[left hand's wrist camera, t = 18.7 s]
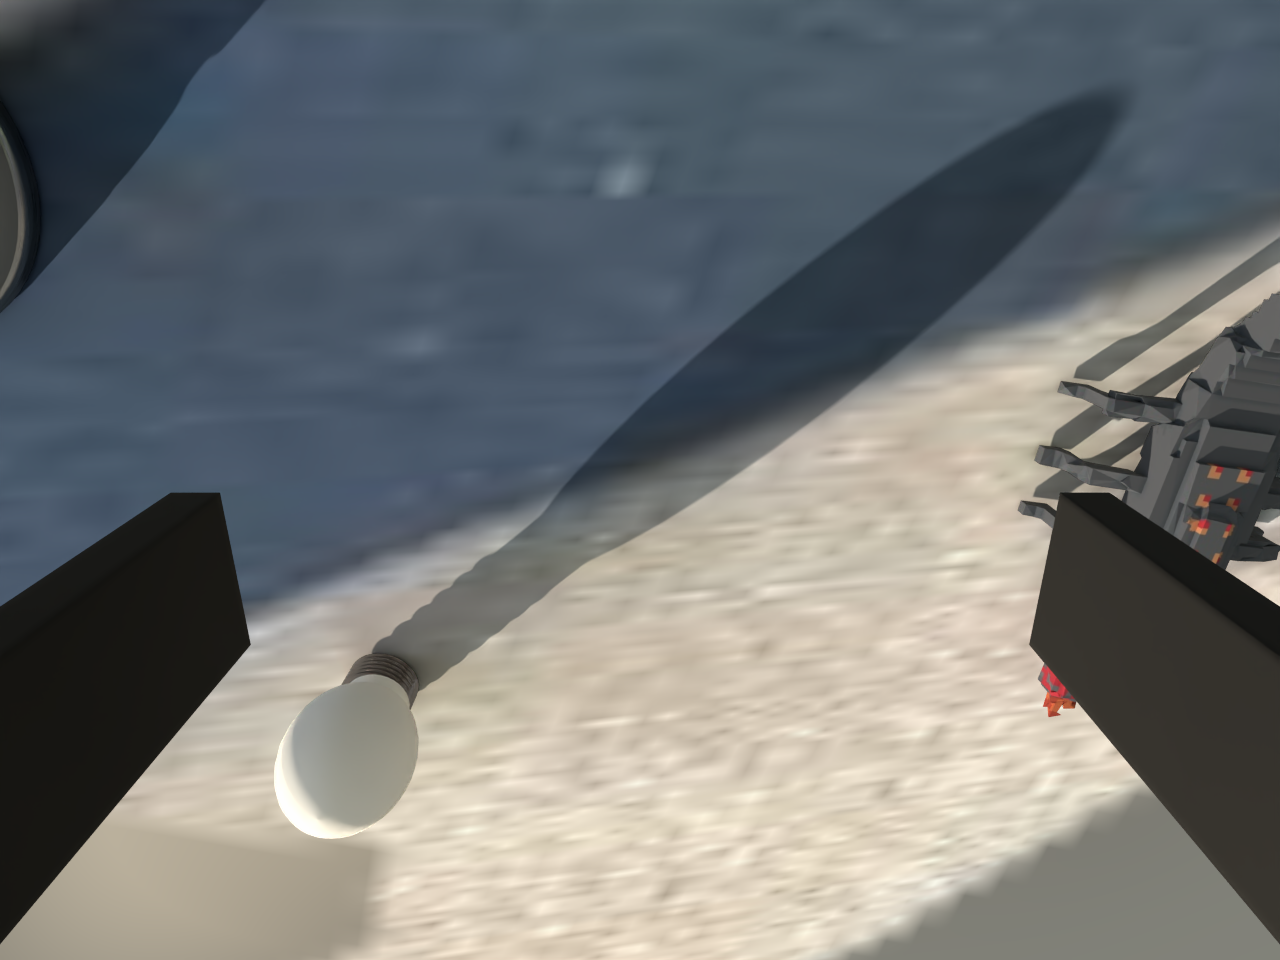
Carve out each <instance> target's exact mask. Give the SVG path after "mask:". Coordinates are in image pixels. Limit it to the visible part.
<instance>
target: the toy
mask: <svg viewBox="0 0 1280 960" xmlns="http://www.w3.org/2000/svg"><path fill="white" fill-rule="evenodd" d="M1058 392H1059V393H1063V394H1066V395H1070V396H1073V397H1077V398H1082V399H1084V400H1086V401H1088V402H1090V403H1093V404H1095V405H1097V406H1099V407H1101V408H1103V411H1102V413H1103V414H1105V415H1107V416H1111V417H1120V418H1128V419H1132V420H1134V421H1140V422H1152V423H1160V424H1158V425H1155V426H1152V427H1151V429H1150V432H1149V434H1148V436H1147V438H1146V441H1145V443H1144V445H1143V448H1142V450H1141V452H1140V454H1141V457H1142V458H1141V460H1140V462H1139V464H1138V465H1137V467H1136V469H1135V471H1134V472H1133V471H1131V470H1128V469H1122V468H1117V467H1111V466H1106V465H1100V464H1095V463H1090V462H1084V461H1082V460H1081V459H1079V458H1078V457H1077V456H1075V455H1074V454H1072V453H1071V452H1069V451H1067V450H1064V449H1062V448H1057V447H1050V446H1043V445H1039V448H1038V451H1037V454H1036V457H1035V460H1034V461H1036V462H1037V463H1039V464H1041V465H1046V466H1051V467H1055V468H1059V469H1062V470H1064V471H1067V472H1069V473H1070V474H1071V475H1073V476H1074V477H1076V478H1077V479H1079V480H1081V481H1083V482H1085V483H1087V484H1089V485H1094V486H1101V487H1108V488H1115V489H1122V490H1126V491H1125V494H1124V496H1123V499H1122V502H1124V503H1125V504H1127V505H1128V506H1130V507H1131V508H1133V509H1134V510H1136V511H1137V512H1139V513H1140V514H1142V515H1143V516H1145V517H1146V518H1148V519H1149V520H1151V521H1152V522H1154V523H1155V524H1157V525H1158V526H1160V527H1161V528H1163V529H1164V530H1166V531H1167V532H1169V533H1170V534H1172V535H1173V536H1175V537H1176V538H1178V539H1179V540H1181V541H1182V542H1184V543H1185V544H1187V545H1188V546H1190V547H1191V548H1193V549H1194V550H1196V551H1197V552H1199V553H1200V554H1202V555H1203V556H1205V557H1206V558H1208V559H1209V560H1211V561H1212V562H1214V563H1215V564H1217V565H1218V566H1220V567H1221V568H1223V569H1224V570H1226V567H1227V565H1228V563H1229V560H1235V561H1260V562H1265V561H1271V560H1277V556H1278V552H1279V551H1280V546H1279V545H1277V544H1275V543H1273V542H1272V541H1270V540H1268V539H1266V538H1265V537H1263V536H1262V535H1263V534H1264V532H1263V530H1261V529H1260V528H1258V527H1255V526H1254V525H1255V523H1256V521H1257V518H1258V516H1259V513H1260V511H1261V509H1263V510H1266V509H1271V508H1273V509H1280V478H1277V477H1275V475H1276V472H1277V464H1278V462H1279V459H1280V295H1279V294H1271V297H1270V299H1269V300H1265V299H1264V301H1263V303H1262V306H1261V308H1260V310H1259V312H1253V315H1252V317H1251V318H1250V317H1246V318H1245V320H1244V321H1243V322H1242V323H1241V324H1239V325H1237V326H1235V327H1234V328H1231V327H1226V328H1225V329H1224V330H1223V332H1222V333H1221V334H1220V336H1219V337H1218V338H1217V339H1216V340H1215V342H1214V344H1213V346H1212V347H1211V349H1210V351H1209V352H1208V354H1207V356H1206V357H1205V359H1204V360H1203V362H1202V363H1201V365H1200V367H1199V368H1198V369H1197V370H1196V371H1195V372H1194V373H1193V372H1191V374H1190V375H1189V377H1188V378H1187V380H1186V381H1185V383H1184V385H1183V386H1182V388H1181V390H1180V391H1179V393H1178V395H1177V397H1176V399H1175V398H1164V397H1153V396H1138V395H1133V394H1128V393H1123V392H1118V391H1112V390H1110V391H1109V393H1106V392H1104V391H1101V390H1098V389H1096V388H1094V387H1092V386H1089V385H1085V384H1078V383H1071V382H1064V381H1061V383H1060V386H1059V389H1058ZM1018 511H1019V512H1020V513H1021V514H1023V515H1028V516H1033V517H1037V518H1040V519H1042V520H1043V521H1044V522H1045V523H1047V524H1048V525H1049V526H1050V527H1052V528H1053V526H1054V521H1055V516H1056V510H1054V509H1053V508H1052V507H1050V506H1049V505H1048V504H1044V503H1036V502H1029V501H1021V502H1020V505H1019V508H1018ZM1038 680H1039V681H1040V682H1041V685H1042V686H1043V687H1044V688H1045V689H1046V690H1047V691H1048V692H1047V695H1046V698H1045V702H1044V705H1043V707H1048V717H1052V716H1058V715H1060V714H1059V713H1057V711H1058V710H1059V708H1060V707H1061V705H1063V709H1066V708H1075V705H1076V700H1075V699H1074V698H1073V696H1072V695H1071V694H1070V693H1069V692H1068V690H1067V689H1066V688H1065V687H1064V686H1063V684H1062V683H1061V682H1060V681H1059V680H1058V678H1057V677H1056V676H1055V675H1054V674H1053V672H1052V671H1051V670H1050V669H1049V668H1048V666H1047V665H1046V664H1045V663H1044V666H1043V668H1042V670H1041V673H1040V675H1039V677H1038Z"/></svg>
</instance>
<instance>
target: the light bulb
mask: <svg viewBox="0 0 1280 960" xmlns="http://www.w3.org/2000/svg"><path fill="white" fill-rule="evenodd" d="M418 689H419V682H418V678H417V676H416V674H415V672H414V671H413V670H412V669H411V667H410V666H408V665H407V664H406V663H405V662H403V661H402V660H400V659H398V658H396V657H393V656H390V655H386V654H369V655H366V656H364V657H361V658H360V659H358V660H357V661H356V662H355V663H354V664H353V666H352V668H351V669H350V671H349V673H348V675H347V676H346V678H345V680H344V681H343V683H342V685H340V686H338V687H335V688H333V689H331V690H329V691H326V692H324V693H323V694H321V695H320V696H318V697H317V698H315V699H314V700H313V701H312V702H310V703H309V704H308V705H307V706H306V707H305V708H304V709H303V710H302V711H301V712H300V713H299V714H298V716H297V717H296V718H295V719H294V721H293V722H292V723H291V725H290V727H289V728H288V730H287V732H286V734H285V736H284V738H283V740H282V742H281V744H280V747H279V751H278V755H277V759H276V763H275V778H274V780H275V791H276V795H277V798H278V802H279V805H280V807H281V809H282V811H283V813H284V814H285V815H286V817H287V818H288V819H289V820H290V821H291V823H292V824H293V825H295V826H296V827H297V828H298V829H300V830H301V831H303V832H304V833H307V834H309V835H311V836H315V837H319V838H342V837H347V836H351V835H354V834H356V833H359V832H361V831H363V830H365V829H367V828H369V827H371V826H372V825H374V824H375V823H377V822H378V821H379V820H380V819H382V818H383V817H384V816H385V815H386V814H387V813H388V812H389V811H390V810H391V809H392V808H393V807H394V806H395V805H396V803H397V802H398V801H399V799H400V798H401V796H402V795H403V793H404V792H405V790H406V788H407V786H408V784H409V782H410V780H411V778H412V775H413V772H414V769H415V765H416V761H417V756H418V732H417V727H416V723H415V719H414V717H413V714H412V712H411V711H410V710H411V707H412V705H413V703H414V701H415V698H416V696H417V692H418Z"/></svg>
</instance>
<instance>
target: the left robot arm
mask: <svg viewBox="0 0 1280 960" xmlns="http://www.w3.org/2000/svg"><path fill="white" fill-rule="evenodd" d="M39 235H40V204H39V195H38V189H37V184H36V180H35V175H34V172H33V168H32V165H31V162H30V158H29V156H28V153H27V151H26V148H25V146H24V143H23V141H22V138H21V136H20V134H19V132H18V130H17V128H16V126H15V124H14V122H13V121H12V119H11V117H10V115H9V114H8V112H7V110H6V109H5V107H4V105H3V104H2V103H1V101H0V313H1V312H2V311H3V310H4V309H5V308H6V307H7V306H8V305H9V304H10V303H11V302H12V301H13V300H14V298H15V297H16V296H17V295H18V293H19V292H20V290H21V289H22V287H23V286H24V284H25V282H26V280H27V278H28V276H29V274H30V272H31V270H32V267H33V264H34V260H35V257H36V254H37V249H38V243H39ZM250 645H251V644H250V639H249V634H248V629H247V624H246V619H245V614H244V609H243V604H242V599H241V595H240V590H239V585H238V580H237V575H236V570H235V565H234V560H233V555H232V550H231V545H230V540H229V535H228V530H227V526H226V521H225V516H224V511H223V506H222V501H221V496H220V493H170V494H168V495H167V496H165V497H164V498H162V499H161V500H159V501H158V502H156V503H155V504H153V505H152V506H150V507H149V508H147V509H146V510H144V511H143V512H141V513H140V514H138V515H137V516H135V517H134V518H132V519H131V520H129V521H128V522H126V523H125V524H123V525H122V526H120V527H119V528H117V529H116V530H114V531H113V532H111V533H110V534H108V535H107V536H105V537H104V538H102V539H101V540H99V541H98V542H96V543H95V544H93V545H92V546H90V547H89V548H87V549H86V550H84V551H83V552H81V553H80V554H78V555H77V556H75V557H74V558H72V559H71V560H69V561H68V562H66V563H65V564H63V565H62V566H60V567H59V568H57V569H56V570H54V571H53V572H51V573H50V574H48V575H47V576H45V577H44V578H42V579H41V580H39V581H38V582H36V583H35V584H33V585H32V586H30V587H29V588H27V589H26V590H24V591H23V592H21V593H20V594H18V595H17V596H15V597H14V598H12V599H11V600H9V601H8V602H6V603H5V604H3V605H2V606H0V944H1V943H2V941H3V940H4V939H5V938H6V937H7V935H8V934H9V933H10V932H11V931H12V929H13V928H14V927H15V926H16V925H17V923H18V922H19V921H20V920H21V919H22V917H23V916H24V915H25V914H26V913H27V911H28V910H29V909H30V908H31V907H32V905H33V904H34V903H35V902H36V901H37V899H38V898H39V897H40V896H41V895H42V894H43V892H44V891H45V890H46V889H47V888H48V886H49V885H50V884H51V883H52V882H53V880H54V879H55V878H56V877H57V876H58V874H59V873H60V872H61V871H62V870H63V868H64V867H65V866H66V865H67V864H68V862H69V861H70V860H71V859H72V858H73V856H74V855H75V854H76V853H77V852H78V850H79V849H80V848H81V847H82V846H83V844H84V843H85V842H86V841H87V840H88V839H89V837H90V836H91V835H92V834H93V833H94V831H95V830H96V829H97V828H98V827H99V825H100V824H101V823H102V822H103V821H104V819H105V818H106V817H107V816H108V815H109V813H110V812H111V811H112V810H113V809H114V807H115V806H116V805H117V804H118V803H119V801H120V800H121V799H122V798H123V797H124V796H125V794H126V793H127V792H128V791H129V790H130V788H131V787H132V786H133V785H134V784H135V782H136V781H137V780H138V779H139V778H140V776H141V775H142V774H143V773H144V772H145V770H146V769H147V768H148V767H149V766H150V764H151V763H152V762H153V761H154V760H155V758H156V757H157V756H158V755H159V754H160V752H161V751H162V750H163V749H164V748H165V747H166V745H167V744H168V743H169V742H170V741H171V739H172V738H173V737H174V736H175V735H176V733H177V732H178V731H179V730H180V729H181V727H182V726H183V725H184V724H185V723H186V721H187V720H188V719H189V718H190V717H191V715H192V714H193V713H194V712H195V711H196V709H197V708H198V707H199V706H200V705H201V703H202V702H203V701H204V700H205V699H206V698H207V696H208V695H209V694H210V693H211V692H212V690H213V689H214V688H215V687H216V686H217V684H218V683H219V682H220V681H221V680H222V678H223V677H224V676H225V675H226V674H227V672H228V671H229V670H230V669H231V668H232V666H233V665H234V664H235V663H236V662H237V660H238V659H239V658H240V657H241V656H242V654H243V653H244V652H245V651H246V650H247V649H248V647H249V646H250ZM1029 645H1030V646H1031V647H1032V649H1033V650H1034V651H1035V652H1036V653H1037V654H1038V656H1039V657H1040V658H1041V659H1042V660H1043V662H1044V663H1045V664H1046V665H1047V666H1048V668H1049V669H1050V670H1051V671H1052V672H1053V674H1054V675H1055V676H1056V677H1057V678H1058V680H1059V681H1060V682H1061V683H1062V684H1063V686H1064V687H1065V688H1066V689H1067V690H1068V692H1069V693H1070V694H1071V695H1072V696H1073V698H1074V699H1075V700H1076V701H1077V702H1078V703H1079V705H1080V706H1081V707H1082V708H1083V709H1084V711H1085V712H1086V713H1087V714H1088V715H1089V717H1090V718H1091V719H1092V720H1093V721H1094V723H1095V724H1096V725H1097V726H1098V727H1099V729H1100V730H1101V731H1102V732H1103V733H1104V735H1105V736H1106V737H1107V738H1108V739H1109V741H1110V742H1111V743H1112V744H1113V745H1114V747H1115V748H1116V749H1117V750H1118V751H1119V752H1120V754H1121V755H1122V756H1123V757H1124V758H1125V760H1126V761H1127V762H1128V763H1129V764H1130V766H1131V767H1132V768H1133V769H1134V770H1135V772H1136V773H1137V774H1138V775H1139V776H1140V778H1141V779H1142V780H1143V781H1144V782H1145V784H1146V785H1147V786H1148V787H1149V788H1150V790H1151V791H1152V792H1153V793H1154V794H1155V796H1156V797H1157V798H1158V799H1159V800H1160V801H1161V803H1162V804H1163V805H1164V806H1165V807H1166V809H1167V810H1168V811H1169V812H1170V813H1171V815H1172V816H1173V817H1174V818H1175V819H1176V821H1177V822H1178V823H1179V824H1180V825H1181V827H1182V828H1183V829H1184V830H1185V831H1186V833H1187V834H1188V835H1189V836H1190V837H1191V839H1192V840H1193V841H1194V842H1195V843H1196V845H1197V846H1198V847H1199V848H1200V849H1201V850H1202V852H1203V853H1204V854H1205V855H1206V856H1207V858H1208V859H1209V860H1210V861H1211V862H1212V864H1213V865H1214V866H1215V867H1216V868H1217V870H1218V871H1219V872H1220V873H1221V874H1222V876H1223V877H1224V878H1225V879H1226V880H1227V882H1228V883H1229V884H1230V885H1231V886H1232V887H1233V889H1234V890H1235V891H1236V892H1237V894H1238V895H1239V896H1240V897H1241V898H1242V899H1243V901H1244V902H1245V903H1246V904H1247V905H1248V907H1249V908H1250V909H1251V910H1252V911H1253V913H1254V914H1255V915H1256V916H1257V917H1258V919H1259V920H1260V921H1261V922H1262V923H1263V925H1264V926H1265V927H1266V928H1267V929H1268V931H1269V932H1270V933H1271V934H1272V935H1273V937H1274V938H1275V939H1276V940H1277V941H1278V942H1279V944H1280V606H1278V605H1277V604H1275V603H1274V602H1272V601H1271V600H1269V599H1268V598H1266V597H1265V596H1263V595H1262V594H1260V593H1259V592H1257V591H1256V590H1254V589H1253V588H1251V587H1250V586H1248V585H1247V584H1245V583H1244V582H1242V581H1241V580H1239V579H1238V578H1236V577H1235V576H1233V575H1232V574H1230V573H1229V572H1227V571H1226V570H1224V569H1223V568H1221V567H1220V566H1218V565H1217V564H1215V563H1214V562H1212V561H1211V560H1209V559H1208V558H1206V557H1205V556H1203V555H1202V554H1200V553H1199V552H1197V551H1196V550H1194V549H1193V548H1191V547H1190V546H1188V545H1187V544H1185V543H1184V542H1182V541H1181V540H1179V539H1178V538H1176V537H1175V536H1173V535H1172V534H1170V533H1169V532H1167V531H1166V530H1164V529H1163V528H1161V527H1160V526H1158V525H1157V524H1155V523H1154V522H1152V521H1151V520H1149V519H1148V518H1146V517H1145V516H1143V515H1142V514H1140V513H1139V512H1137V511H1136V510H1134V509H1133V508H1131V507H1130V506H1128V505H1127V504H1125V503H1124V502H1122V501H1121V500H1119V499H1118V498H1116V497H1115V496H1113V495H1112V494H1110V493H1060V496H1059V501H1058V506H1057V511H1056V516H1055V521H1054V526H1053V530H1052V535H1051V540H1050V545H1049V550H1048V555H1047V560H1046V565H1045V570H1044V575H1043V580H1042V585H1041V590H1040V595H1039V599H1038V604H1037V609H1036V614H1035V619H1034V624H1033V629H1032V634H1031V639H1030V644H1029Z"/></svg>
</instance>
